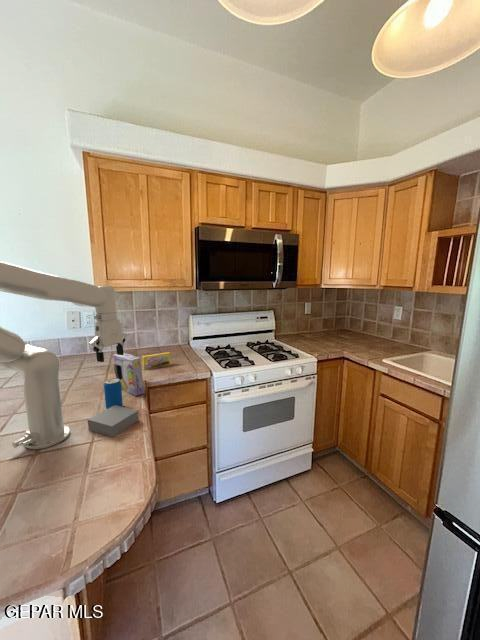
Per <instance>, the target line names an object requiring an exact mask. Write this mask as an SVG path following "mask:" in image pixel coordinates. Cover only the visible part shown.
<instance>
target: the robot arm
mask: <svg viewBox="0 0 480 640" xmlns="http://www.w3.org/2000/svg"><path fill="white" fill-rule="evenodd" d="M0 292H4V293H8V294H13V295H17V296H18V295H19V296H24V297H30V298H34V299H39V300H45V301H58V302H59V301H60V302H68V303H72V304H74V305H76V306H78V307H87V308H88V307H90V308H95V315H94V317H93V318H94V319H95V320H96V321H95V322H94V323H95V324H94V338H93V339H92V340H91V341H90V342H88V345H89V347H90V349H91V350H92V351H94V352H95V354H96V361H97V362H100V363H104V362H105V355H104V351H103V350H104V348H106V347H110V346H114V345H116V346H115V347H116V349H115V350H116V354H117V355H124V353H125V352H124V346H125V342H126V339H127V333H125V332H123V329H122V324H121V322H120V321H121V320H120V319H119V318H118V313H117V304H116V303H117V301H116V291H115V287H114V286H112V285H94V284H89V283H87V282H83V281H79V280H76V279H70V278H66V277H61V276H58V275H55V274H50V273H46V272H42V271H38V270H34V269H31V268H27V267H24V266H21V265H16V264H13V263H9V262H5V261H0ZM0 366H2V367H4V368H6V369H9V370H12V371H14V372H15V373H19V374H22V375H23V376H24V377H23V378H24V381H23V397H24V404H25V409H26V410H25V411H26V418H27V425H28V430H26V431H25V434H24V436H22V437H21V438H18V439H16V440H15V441H13V442H12V444H11V445H12V447H13V448H14V449H16V448H19V446H22V447H23V448H24V447H25V448H27V449H29V450H39V449H40V450H41V449H46V448H49V447H52V446H55V445H57V444H60V443H61V442H63V441H64V440H66V439H67V438H68V437H69V436H70V433H71V429H70V427H69V426H66V425H65V423H64V416H63V415H64V414H63V406H62V399H61V391H60V390H61V389H60V380H59V376H60V375H59V374H60V360H59V358H58V356H57V355H56V353H55V352H53V351H51V350H50V349H47V348H43V347H39V346H35V345H33V344H29V343H28V342H26V341H24V339H23V338H22V337H21V336H20V335H19V334H17V333H15V332H13V331H10V330H8V329H6V328H4V327H2V326H0Z"/></svg>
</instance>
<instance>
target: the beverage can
mask: <svg viewBox="0 0 480 640" xmlns="http://www.w3.org/2000/svg"><path fill="white" fill-rule="evenodd" d="M103 391H104V392H103V393H104V400H105V401H104V403H105V410H106V409H108V408H110V407H112V406H114V405H117V406H121V407H123V404H124V403H123V402H124V401H123V392H122V391H123V390H122V389H121V382H120V381H119V379H118V378H113V377H112V378H108V379H106V380H105V381H104V383H103Z"/></svg>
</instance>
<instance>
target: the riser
mask: <svg viewBox="0 0 480 640" xmlns="http://www.w3.org/2000/svg"><path fill="white" fill-rule="evenodd" d="M137 422H139V410H137V409H134V408H133V409H132V408H128V407H125V406H122V407H121V406H117V405H114V406H112V407H110V408H108V409H106V408H105V410H103V411H101V412H99V413H97V414H95V415H93V416H91V417H90V418H88V419H87V429H88V431H92V432H95V433H98V434H101V435H104V436H108V437H111V438H113V437H116V436H117V435H118V434H120V433H121V432H123V431H125V430H126V429H127V428H129V427H131V426H132V425H134V424H135V423H137Z"/></svg>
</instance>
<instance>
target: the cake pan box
mask: <svg viewBox="0 0 480 640" xmlns="http://www.w3.org/2000/svg"><path fill="white" fill-rule="evenodd" d="M123 353H124V355H117V353H115V354H113V355H112V356H113V363H114V367H113V368H114V373H115V374H114V375H115V377H116V378H118V379H119V381H120V382H121V390H122V391H125V392H127V393H129V394H131V395H133V396H135V397H136V396H140V395H142V394H145V388H144V380H143V379H144V378H143V372H142V370H143V368H142V361H141V357H138V356H135V355H133V354H130V353H125V352H123Z"/></svg>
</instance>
